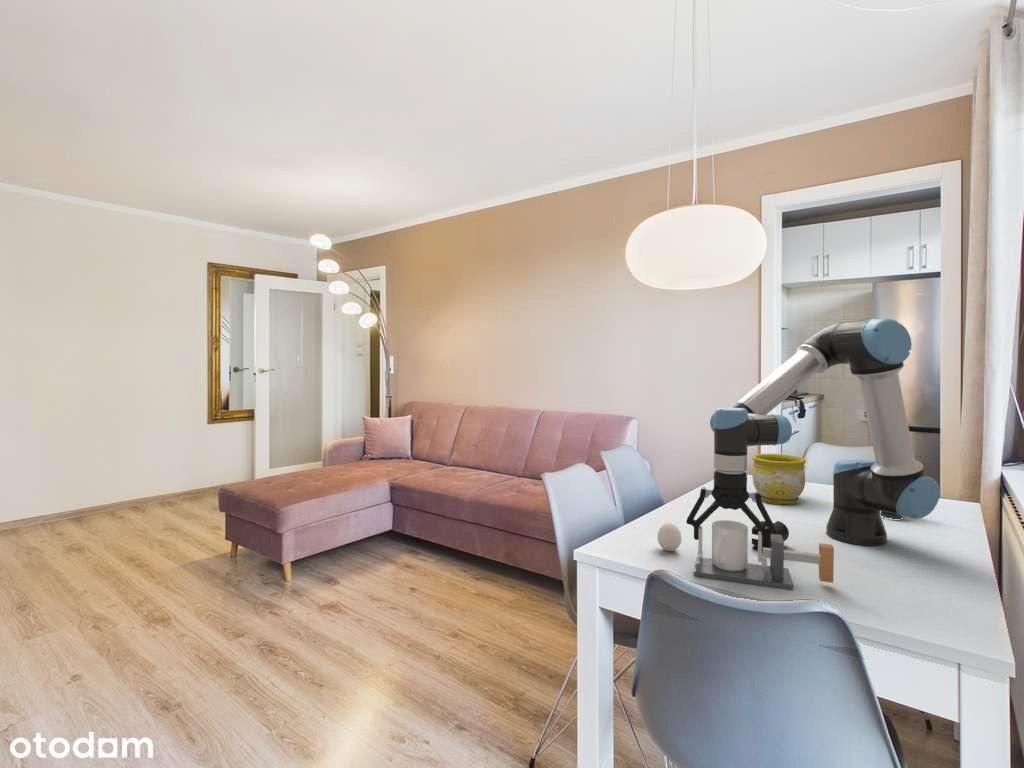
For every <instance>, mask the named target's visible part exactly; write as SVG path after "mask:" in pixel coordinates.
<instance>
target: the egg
mask: <svg viewBox="0 0 1024 768" xmlns="http://www.w3.org/2000/svg"><path fill="white" fill-rule="evenodd" d="M657 542H658V544H659V546H660V547H661V548H662V549H663V550H665V551H667V552H674V551H676V550H677V549H678V548H679V547H680V546H681V544H682V534H681V531H680V529H679V527H678V526H677V525H676V524H675V523H673V522H671V521H670V522H668V521H667V522H665V523H663V524H661V526H660V528H659V530H658V531H657Z"/></svg>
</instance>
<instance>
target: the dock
mask: <svg viewBox="0 0 1024 768" xmlns="http://www.w3.org/2000/svg"><path fill="white" fill-rule="evenodd" d="M771 548H772V558H769V560H770V563H769V565H768V560H767V559H768V558H765V557H762V562H761V564H756V563H749V562H748V563H747V568H746V569H744V570H742V571H726V570H722V569H719V568H717V567H716V566H714V564H713V563H712V558H710V557H709V558H708V557H704V556H703V555H704V554H703V553H704V552H703V551H704V550H703V549H702V555H701V554H698V553H697V555H696V558H695V564H694V568H693V577H697V578H704V579H709V580H710V579H711V580H718V581H723V582H724V581H725V582H731V583H732V582H733V583H741V584H745V585H746V584H747V585H753V586H760V587H766V588H768V587H769V588H775V589H783V590H789V591H794V583H793V580H792V576H791V572H790V568H787V567H784V564H785V560H784V550H785V541H784V542H783V538H782V535H777V534H771Z"/></svg>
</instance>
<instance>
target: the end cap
mask: <svg viewBox="0 0 1024 768" xmlns="http://www.w3.org/2000/svg"><path fill="white" fill-rule="evenodd" d="M760 521H761V523H762V524H763V525H764V526H765V527H768V526H767V524H766V522H765V520H760ZM773 524H774V526H775V529H776V532H775V533H769V534H768V535H767V547H766V548H771V534H777V535H782V538H783V542H784V543H785V542H786V541H787V540H788V538H789V534H790V533H789V532H790V530H789V528H788V527H787V525H786V524H785V523H783V522H782V521H779V520H776V522H773ZM758 532H761V531H760V530H759V529H758V528H757V527H756V526H755V525H754V526H752V528H751V535H755V536H758ZM751 545H753V546H752V547H751V549H752V550H755V551H758V538H754V537H753V538H752V537H751ZM763 548H764V547H762V552H763Z"/></svg>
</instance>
